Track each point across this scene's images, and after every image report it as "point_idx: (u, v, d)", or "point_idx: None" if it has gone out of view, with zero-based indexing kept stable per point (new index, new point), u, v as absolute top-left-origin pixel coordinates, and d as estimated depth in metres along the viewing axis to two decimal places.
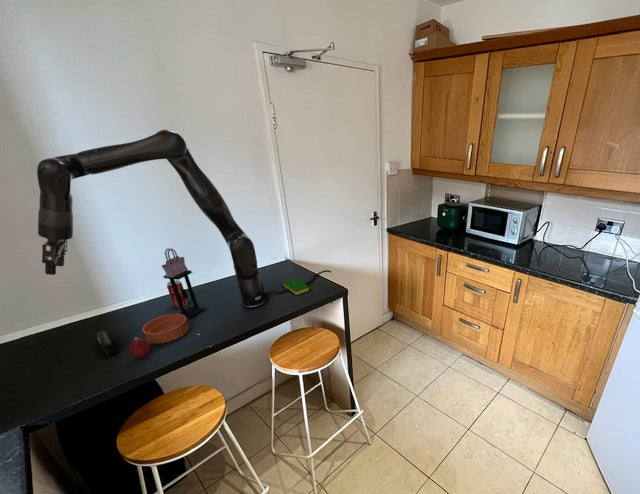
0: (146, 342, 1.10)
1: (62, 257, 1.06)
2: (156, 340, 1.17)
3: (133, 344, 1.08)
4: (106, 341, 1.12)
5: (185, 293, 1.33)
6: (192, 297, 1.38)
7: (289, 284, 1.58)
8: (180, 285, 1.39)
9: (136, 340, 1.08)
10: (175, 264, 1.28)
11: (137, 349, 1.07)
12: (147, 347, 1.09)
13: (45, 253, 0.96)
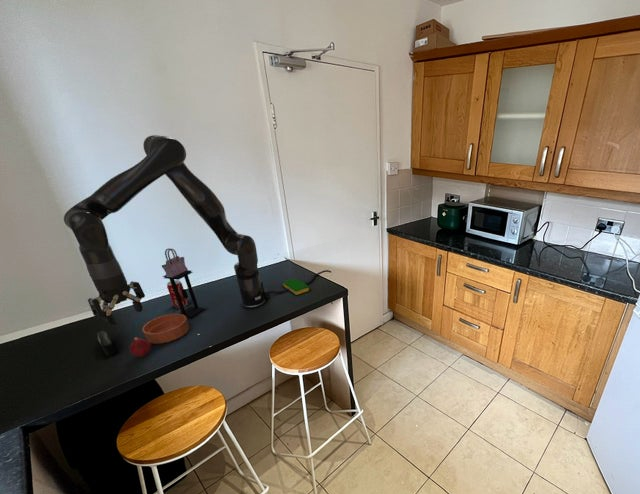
0: (146, 342, 1.10)
1: (136, 303, 1.06)
2: (156, 340, 1.17)
3: (133, 344, 1.08)
4: (106, 341, 1.12)
5: (185, 293, 1.33)
6: (192, 297, 1.38)
7: (289, 284, 1.58)
8: (180, 285, 1.39)
9: (136, 340, 1.08)
10: (175, 264, 1.28)
11: (137, 349, 1.07)
12: (147, 347, 1.09)
13: (92, 307, 0.95)
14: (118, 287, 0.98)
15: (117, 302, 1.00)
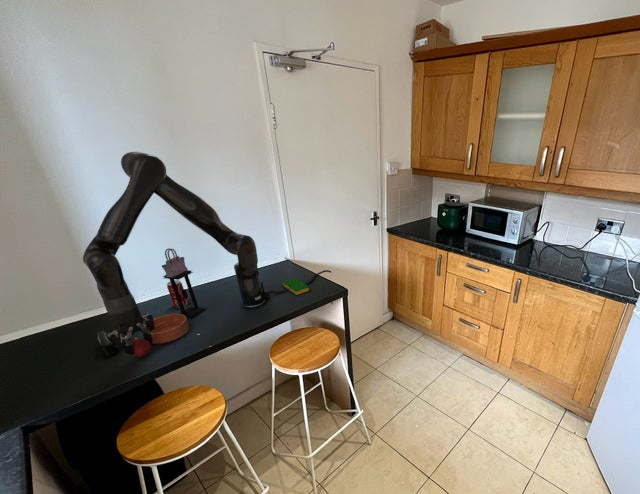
0: (146, 342, 1.10)
1: (147, 336, 1.11)
2: (156, 340, 1.17)
3: (133, 344, 1.08)
4: (106, 341, 1.12)
5: (185, 293, 1.33)
6: (192, 297, 1.38)
7: (289, 284, 1.58)
8: (180, 285, 1.39)
9: (136, 340, 1.08)
10: (175, 264, 1.28)
11: (137, 349, 1.07)
12: (147, 347, 1.09)
13: (111, 341, 1.01)
14: (133, 320, 1.03)
15: (131, 333, 1.06)
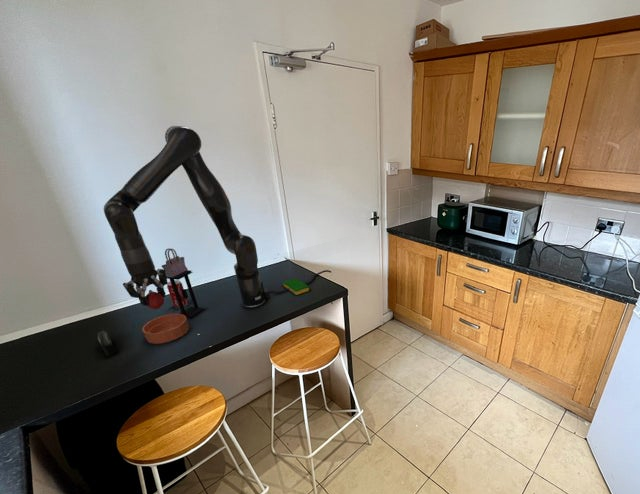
0: (159, 295, 1.16)
1: (160, 290, 1.17)
2: (156, 340, 1.17)
3: (147, 296, 1.14)
4: (106, 341, 1.12)
5: (185, 293, 1.33)
6: (192, 297, 1.38)
7: (289, 284, 1.58)
8: (180, 285, 1.39)
9: (150, 292, 1.14)
10: (175, 264, 1.28)
11: (151, 301, 1.14)
12: (160, 300, 1.16)
13: (127, 290, 1.08)
14: (148, 271, 1.09)
15: (146, 285, 1.12)
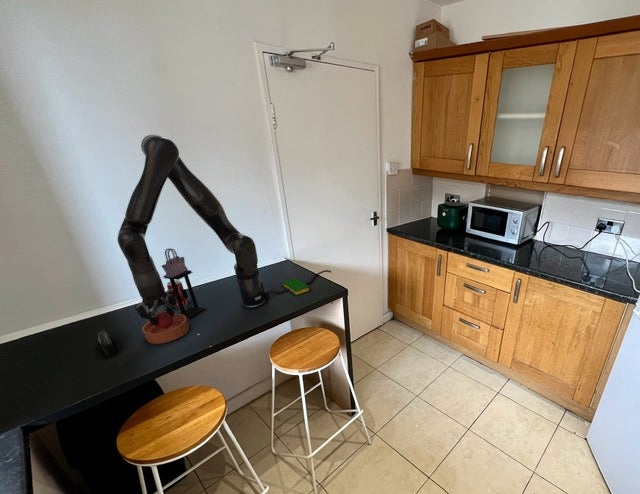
0: (169, 315, 1.21)
1: (169, 310, 1.22)
2: (156, 340, 1.17)
3: (157, 316, 1.19)
4: (106, 341, 1.12)
5: (185, 293, 1.33)
6: (192, 297, 1.38)
7: (289, 284, 1.58)
8: (180, 285, 1.39)
9: (160, 313, 1.19)
10: (175, 264, 1.28)
11: (161, 321, 1.18)
12: (169, 320, 1.20)
13: (139, 312, 1.12)
14: (158, 293, 1.14)
15: (156, 306, 1.17)
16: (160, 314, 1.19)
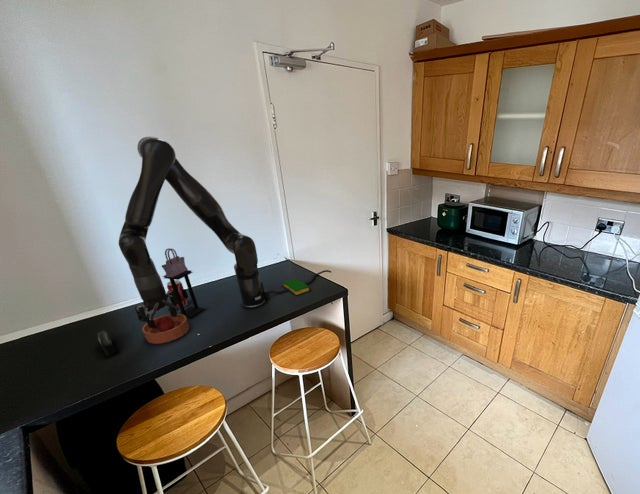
0: (170, 320, 1.22)
1: (172, 310, 1.23)
2: (156, 340, 1.17)
3: (159, 321, 1.19)
4: (106, 341, 1.12)
5: (185, 293, 1.33)
6: (192, 297, 1.38)
7: (289, 284, 1.58)
8: (180, 285, 1.39)
9: (162, 317, 1.20)
10: (175, 264, 1.28)
11: (162, 325, 1.19)
12: (171, 324, 1.21)
13: (138, 313, 1.12)
14: (159, 296, 1.15)
15: (157, 309, 1.17)
16: (162, 318, 1.20)
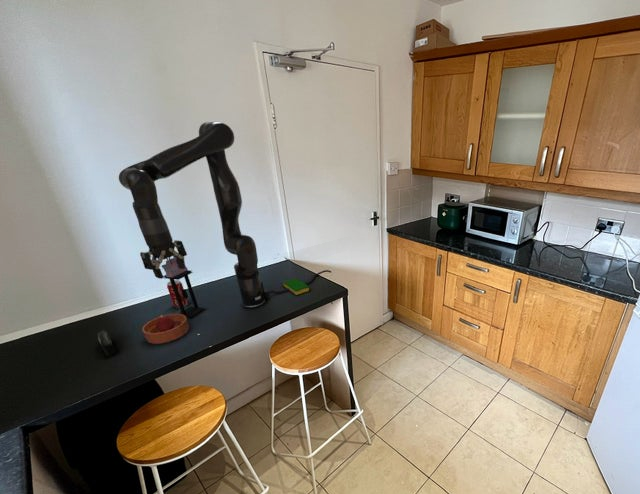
0: (170, 320, 1.22)
1: (180, 261, 1.16)
2: (156, 340, 1.17)
3: (159, 321, 1.19)
4: (106, 341, 1.12)
5: (185, 293, 1.33)
6: (192, 297, 1.38)
7: (289, 284, 1.58)
8: (180, 285, 1.39)
9: (162, 317, 1.20)
10: (175, 264, 1.28)
11: (162, 325, 1.19)
12: (171, 324, 1.21)
13: (143, 260, 1.05)
14: (166, 243, 1.07)
15: (164, 257, 1.10)
16: (162, 318, 1.20)
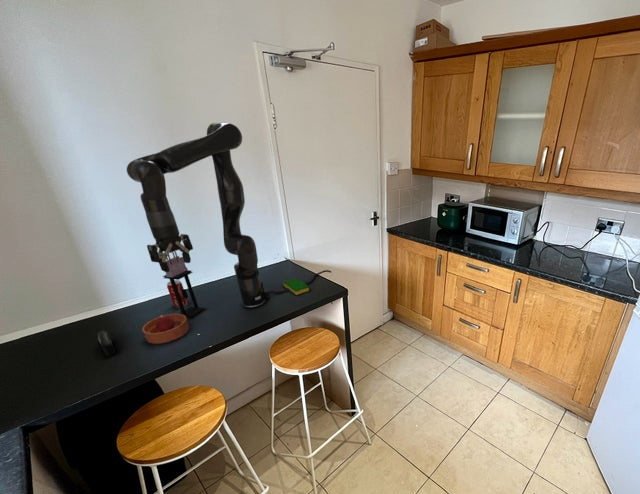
0: (170, 320, 1.22)
1: (186, 255, 1.15)
2: (156, 340, 1.17)
3: (159, 321, 1.19)
4: (106, 341, 1.12)
5: (185, 293, 1.33)
6: (192, 297, 1.38)
7: (289, 284, 1.58)
8: (180, 285, 1.39)
9: (162, 317, 1.20)
10: (175, 264, 1.28)
11: (162, 325, 1.19)
12: (171, 324, 1.21)
13: (150, 253, 1.04)
14: (173, 236, 1.06)
15: (171, 251, 1.09)
16: (162, 318, 1.20)
